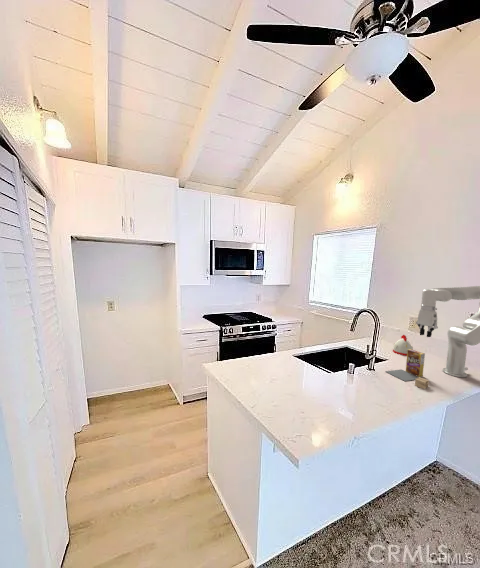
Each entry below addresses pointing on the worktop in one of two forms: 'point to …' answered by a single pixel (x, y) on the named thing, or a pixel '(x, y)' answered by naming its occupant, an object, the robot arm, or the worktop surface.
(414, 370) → the candy box
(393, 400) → the worktop surface
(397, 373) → the mat
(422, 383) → the oak block
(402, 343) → the kitchen timer
